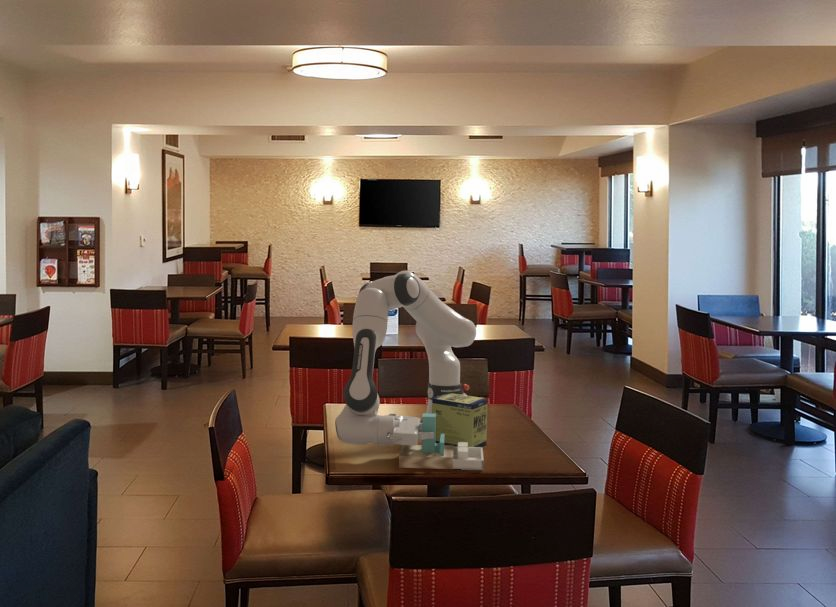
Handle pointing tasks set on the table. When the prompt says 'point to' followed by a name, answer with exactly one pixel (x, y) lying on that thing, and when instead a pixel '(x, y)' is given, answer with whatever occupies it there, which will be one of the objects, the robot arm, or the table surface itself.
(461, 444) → the tile
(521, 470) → the table surface
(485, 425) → the protein box
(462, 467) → the tray
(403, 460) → the board
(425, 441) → the teal uneven u-shaped block
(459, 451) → the white small block
